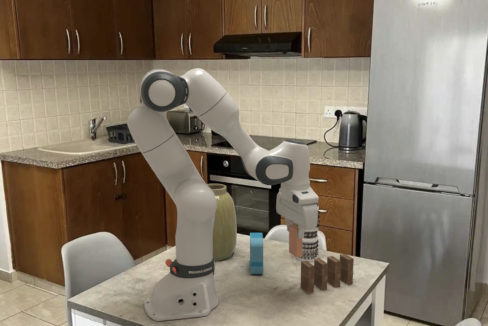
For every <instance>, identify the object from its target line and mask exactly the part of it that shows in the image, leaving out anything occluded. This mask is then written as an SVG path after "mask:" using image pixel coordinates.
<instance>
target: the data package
mask: <svg viewBox="0 0 488 326" xmlns="http://www.w3.org/2000/svg"><path fill="white" fill-rule="evenodd" d="M249 272H250V273H249V274H250V275H263V274H264V236H263V232H250V233H249Z"/></svg>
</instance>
